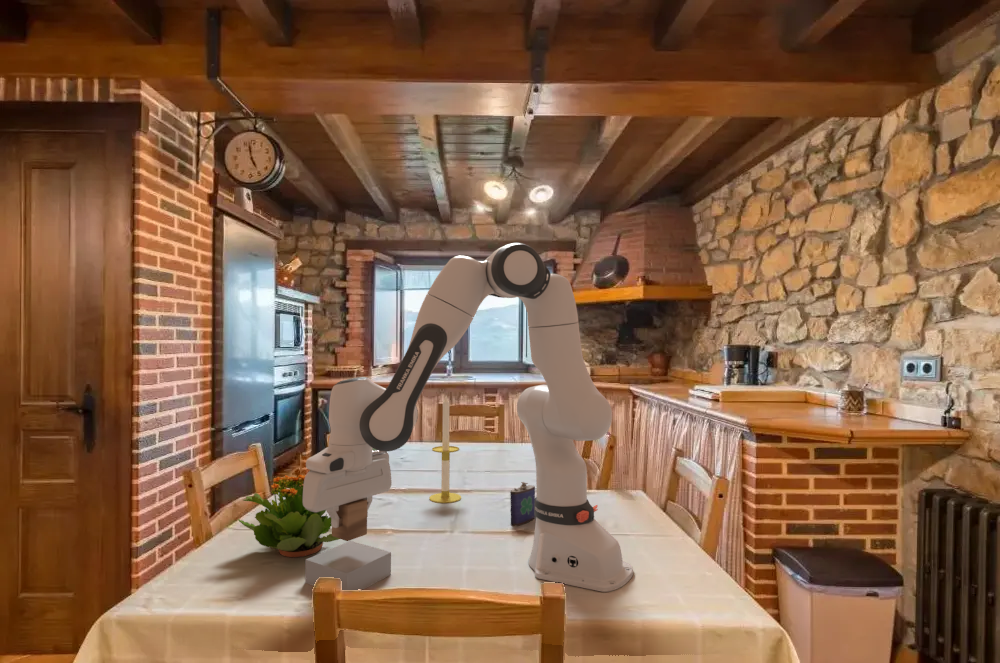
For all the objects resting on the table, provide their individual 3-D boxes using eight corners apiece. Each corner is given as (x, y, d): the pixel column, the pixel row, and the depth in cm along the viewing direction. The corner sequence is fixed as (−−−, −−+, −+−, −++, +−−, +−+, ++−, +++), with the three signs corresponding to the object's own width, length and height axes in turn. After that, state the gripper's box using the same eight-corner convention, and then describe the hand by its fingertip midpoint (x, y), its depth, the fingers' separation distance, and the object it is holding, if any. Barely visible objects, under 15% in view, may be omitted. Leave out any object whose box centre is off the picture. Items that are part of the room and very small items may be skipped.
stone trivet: (390, 576, 112) (391, 552, 112) (347, 599, 102) (347, 573, 102) (350, 563, 119) (350, 540, 119) (305, 584, 108) (305, 559, 108)
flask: (529, 516, 150) (530, 477, 150) (538, 518, 148) (538, 479, 148) (508, 524, 143) (508, 484, 143) (516, 527, 141) (516, 486, 141)
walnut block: (366, 534, 112) (367, 500, 112) (347, 541, 108) (347, 506, 108) (351, 529, 115) (351, 496, 115) (331, 535, 111) (332, 501, 111)
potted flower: (376, 542, 130) (377, 469, 130) (304, 582, 109) (305, 495, 109) (298, 526, 140) (299, 459, 141) (218, 560, 119) (219, 481, 119)
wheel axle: (467, 499, 166) (468, 393, 166) (440, 505, 159) (441, 395, 160) (449, 491, 173) (450, 391, 174) (422, 497, 167) (423, 393, 167)
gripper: (378, 445, 122) (378, 507, 121) (298, 462, 105) (297, 533, 105) (398, 449, 118) (397, 512, 118) (318, 466, 101) (317, 540, 101)
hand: (349, 522), depth 111 cm, fingers closed on walnut block, 5 cm apart
